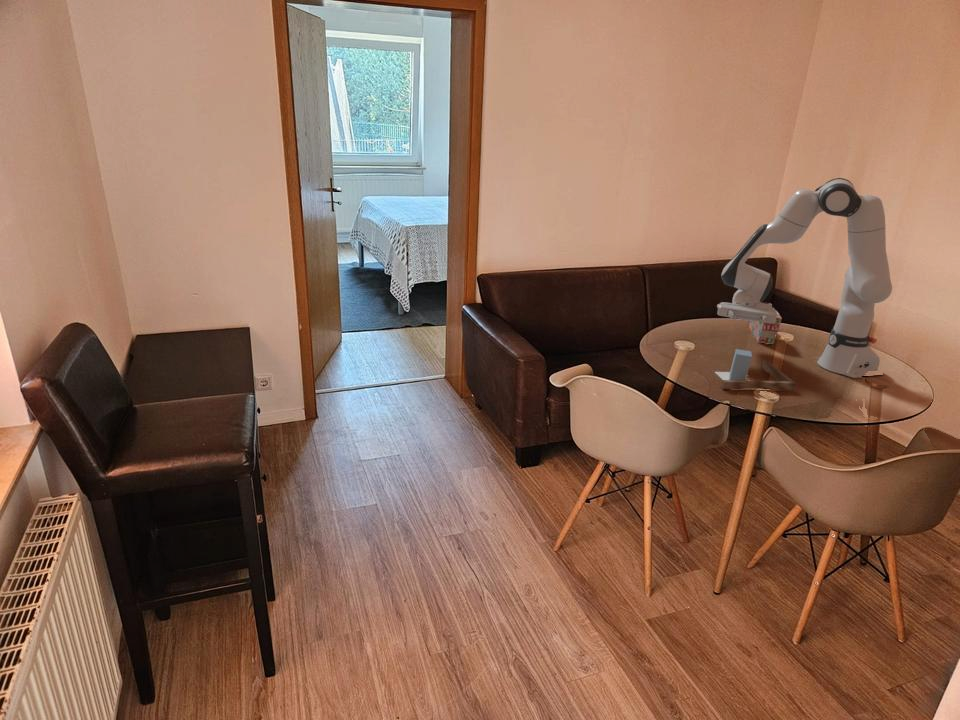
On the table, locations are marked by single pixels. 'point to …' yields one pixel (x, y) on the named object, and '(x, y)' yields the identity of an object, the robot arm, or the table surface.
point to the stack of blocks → (765, 330)
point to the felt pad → (723, 375)
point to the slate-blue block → (740, 365)
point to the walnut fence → (780, 385)
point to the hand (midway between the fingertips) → (747, 319)
